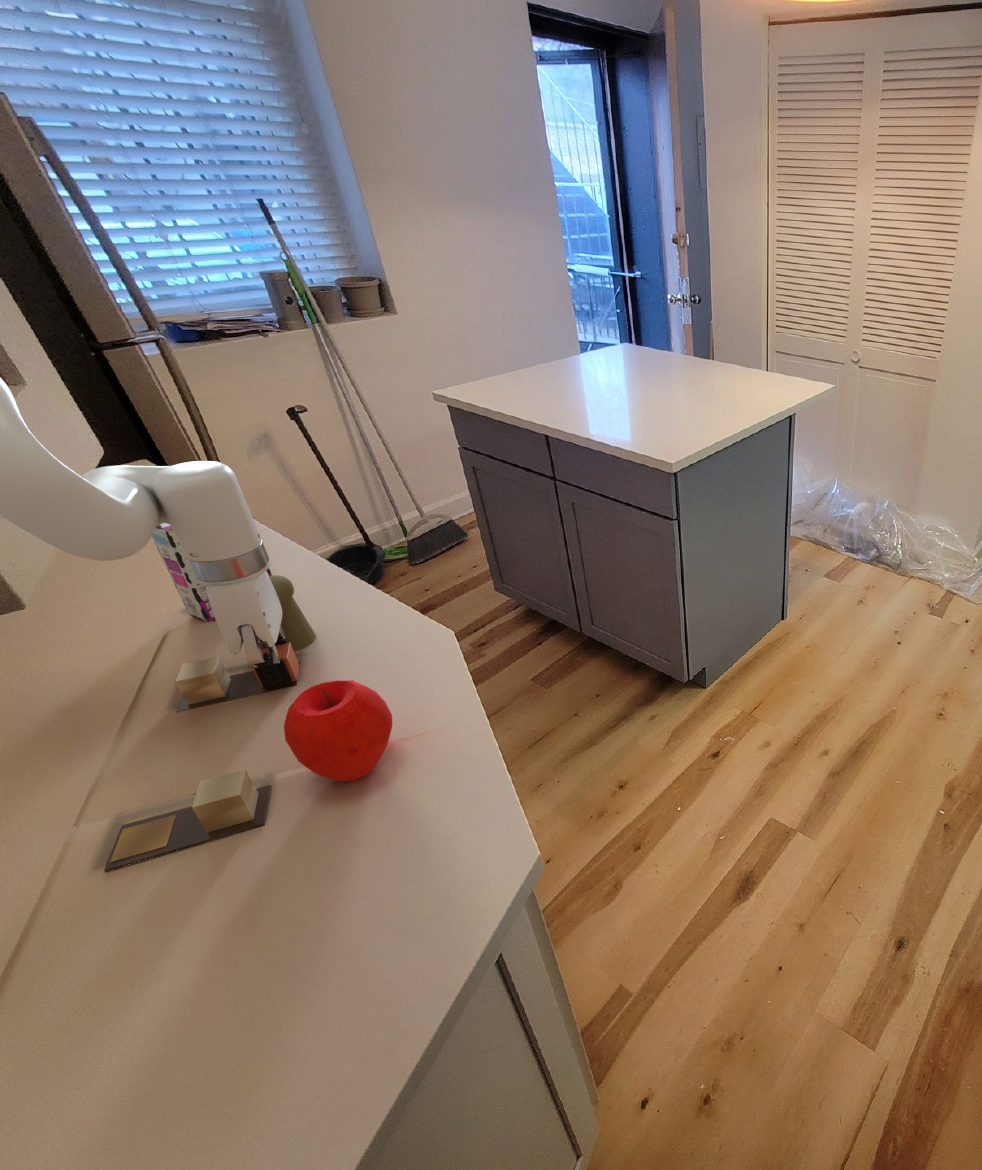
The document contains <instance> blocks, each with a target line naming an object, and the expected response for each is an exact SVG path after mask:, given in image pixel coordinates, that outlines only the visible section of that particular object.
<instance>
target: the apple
mask: <svg viewBox="0 0 982 1170" xmlns="http://www.w3.org/2000/svg"><path fill="white" fill-rule="evenodd" d="M392 729H393V714H392V712H391V710H390V708H389V707H388V704H387V703H386V701H385V700H384V699H383V698H382V696H381V695H380V694H379V693H378V692H377V691H376V690H374V689H372V688H371V687H368V686H367V685H364V684H362V683H360V682H358V681H356V680H353V679H351V680H350V679H347V680H332V681H325V682H320V683H317V684H315V685H312V686H310V687H308V688H307V689H305V690H303V691H302V692H301V693H300V694H298V696H296V698H295V699H294V700H293V702H291V704H290V706H289V707H288V709H287V713H286V716H285V720H284V724H283V732H284V740H285V743H286V744H287V745H288V747H289V749H290V750H291V752H292V754H293V755H294V757H295V758H296V760H297V761H298V762H299V764H301V765H302V766H304V767H305V768H307V769H308V770H309V771H310V772H312V773H314V774H315V775H317V776H320V777H322V778H325V779H328V780H332V781H338V782H351V781H355V780H360V779H361V778H363V777H365V776H367V775H368V774H369V773H370V772H371V771H372V770H373V769H374V768H375V767H376V766H377V765H378V764H379V762H380V761H381V758H382V756H383V754H384V752H385V750H386V748H387V746H388V744H389V741H390V737H391V734H392Z"/></svg>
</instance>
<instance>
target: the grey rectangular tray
mask: <svg viewBox="0 0 982 1170" xmlns="http://www.w3.org/2000/svg"><path fill="white" fill-rule="evenodd" d="M222 661H223V660H222V659H221V657H220V656H217V657H216V656H215V657H211V658H206V659H200V660H196V661H191V662H186V663H182V664H181V665H180V667H179V671H178V673H177V674H176V675H177V676H176V678H175V681H174V682H175V685H176V686H177V688H178V690H179V691H180V694H181V695H182V697H181V699H180V702H179V704H178V707H177V709H176V713H180V712H185V711H189V710H193V709H199V708H203V707H207V706H212V705H216V704H220V703H224V702H230V701H233V700H238V699H243V698H247V697H253V696H257V695H261V694H265V693H271V692H274V691H279V690H283V689H288V688H293V687H296V686H298V682H299V676H300V671H301V670H300V669H301V663H302V661H301V660H298V663H299V670H298V676H297V681H293V682H292V683H291V684H287V685H283V686H278V687H274V688H269V689H264V688H261V685H260V683H259V681H258V679H257V677H256V675H255V672H254V670H251V671H247V672H242V673H238V674H237V673H236V674H233V675H229V672H228V671H227V669H226V666H225V665H224V663H223V662H222Z"/></svg>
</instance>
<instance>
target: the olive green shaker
mask: <svg viewBox="0 0 982 1170" xmlns="http://www.w3.org/2000/svg"><path fill="white" fill-rule="evenodd" d="M269 578H270V580H271V582H272V584H273V586H274V589H275V591H276V593H277V596H278V598H279V601H280V604H281V608H282V620H281V625H280V626H281V628H282V629H283V631H284V634H285V639H282V640H286V639H287V641H288V643H291V646H292V648H293V651H294V652H297V651H300V650H303V649H305V648H307V647H309V646H310V645H311V644H313V642H314V641H315V640H316V638H317V634H316V633H315V631H314V629H313V627H312V626H311V623H309V621H308V619H307V618H306V615H304V613H303V612H302V610H301V608H300V606H299V605H298V603H297V601H296V600H295V598H294V593H295V587H294V584H293V582H292V581H291V580H290V579H289V578H287V577H285V576H284V575H278V574H277V575H273V574H272V576H269Z"/></svg>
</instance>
